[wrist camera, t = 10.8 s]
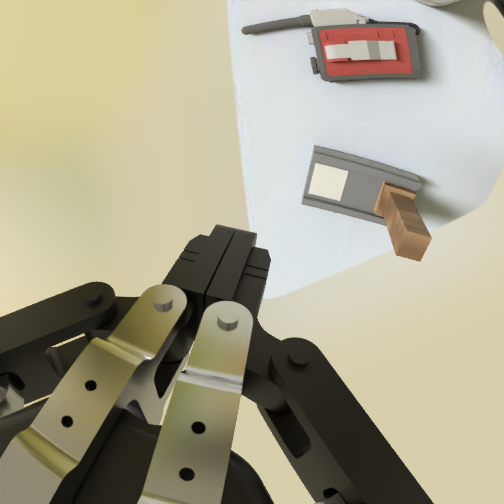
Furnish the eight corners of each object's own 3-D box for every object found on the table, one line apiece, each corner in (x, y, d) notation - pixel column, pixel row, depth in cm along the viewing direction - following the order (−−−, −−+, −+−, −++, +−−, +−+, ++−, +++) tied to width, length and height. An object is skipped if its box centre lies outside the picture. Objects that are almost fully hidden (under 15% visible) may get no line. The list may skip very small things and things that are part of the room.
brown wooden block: (384, 182, 32) (403, 223, 24) (413, 191, 32) (439, 234, 24) (374, 211, 35) (388, 258, 27) (402, 219, 34) (422, 267, 26)
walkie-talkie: (411, 11, 22) (242, 24, 27) (423, 5, 18) (232, 19, 24) (423, 79, 26) (258, 91, 32) (436, 81, 23) (250, 94, 28)
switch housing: (314, 145, 34) (313, 151, 32) (415, 174, 33) (422, 183, 31) (302, 196, 38) (301, 206, 36) (397, 221, 37) (402, 232, 35)
